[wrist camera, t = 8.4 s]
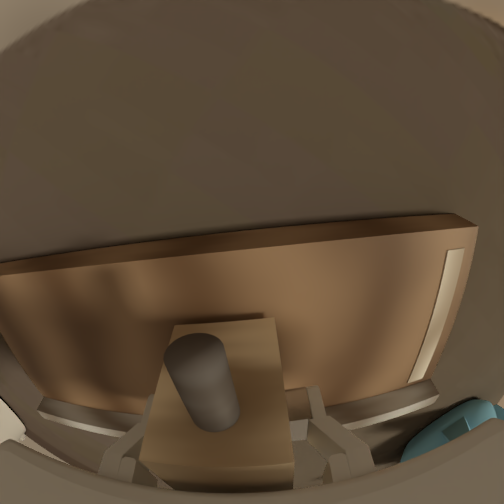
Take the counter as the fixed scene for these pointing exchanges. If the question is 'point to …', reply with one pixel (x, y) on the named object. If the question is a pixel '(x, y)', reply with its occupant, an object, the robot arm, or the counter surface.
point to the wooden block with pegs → (221, 411)
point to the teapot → (451, 426)
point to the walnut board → (244, 313)
